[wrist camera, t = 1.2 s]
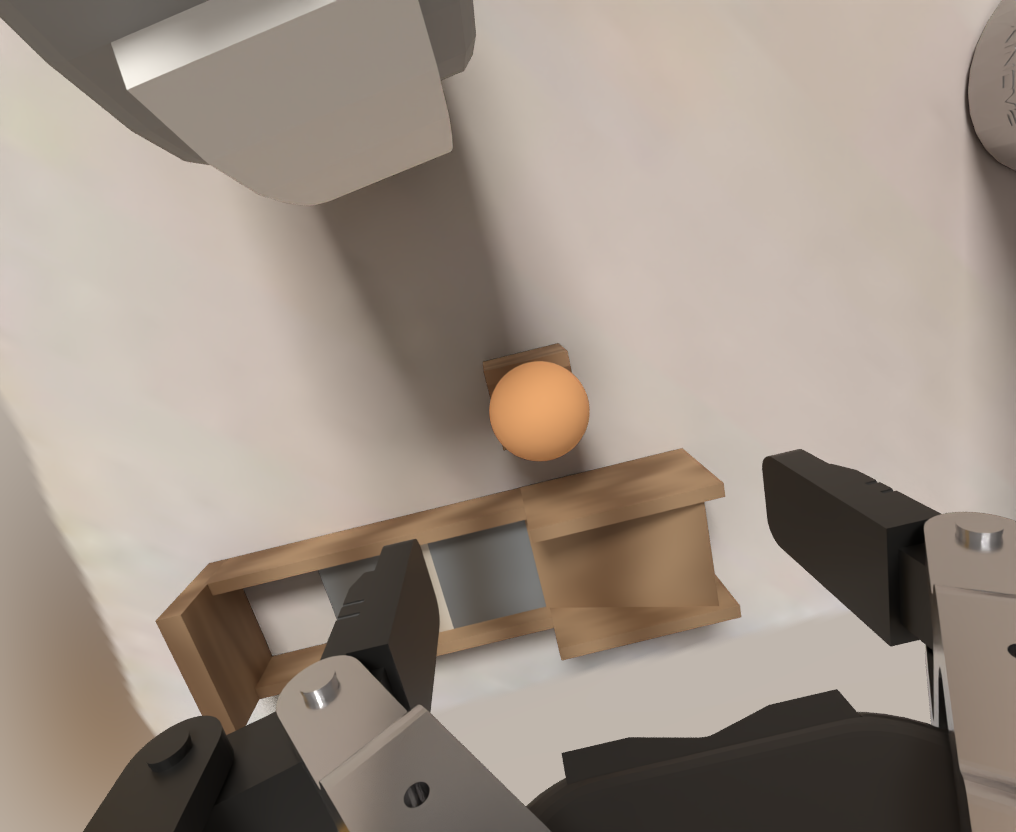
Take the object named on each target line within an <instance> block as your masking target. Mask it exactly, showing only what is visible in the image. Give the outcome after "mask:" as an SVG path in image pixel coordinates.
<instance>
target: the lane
mask: <svg viewBox="0 0 1016 832" xmlns="http://www.w3.org/2000/svg"><path fill="white" fill-rule="evenodd" d="M722 497H725V491H724V483H723V482H722V481H720V480H719V479H718V478H717V477H716V476H715V475H713V474H712V473H711V472H710V471H709V470H707V469H706V468H705V467H704V466H703V465H702V464H700V463H699V462H698V461H697V460H696V459H694V458H693V457H692V456H691V455H690V454H688V453H687V452H686V451H685V450H684V449H683V448H681V449H677V450H673V451H669V452H664V453H660V454H656V455H652V456H648V457H644V458H640V459H636V460H632V461H628V462H623V463H619V464H615V465H611V466H607V467H603V468H599V469H595V470H591V471H586V472H582V473H578V474H574V475H570V476H566V477H562V478H558V479H554V480H550V481H545V482H541V483H537V484H533V485H529V486H525V487H521V488H517V489H513V490H508V491H504V492H500V493H496V494H492V495H488V496H484V497H480V498H476V499H472V500H467V501H463V502H459V503H455V504H451V505H447V506H443V507H439V508H435V509H430V510H426V511H422V512H418V513H414V514H410V515H406V516H402V517H398V518H393V519H389V520H385V521H381V522H377V523H373V524H369V525H365V526H361V527H357V528H352V529H348V530H344V531H340V532H336V533H332V534H328V535H324V536H320V537H315V538H311V539H307V540H303V541H299V542H295V543H291V544H287V545H283V546H279V547H274V548H270V549H266V550H262V551H258V552H254V553H250V554H246V555H242V556H237V557H233V558H229V559H225V560H221V561H217V562H213V563H209V564H208V565H207V566H206V567H205V568H204V569H203V570H202V571H201V572H200V574H199V575H198V576H197V577H196V578H195V579H194V580H193V581H192V582H191V583H190V584H189V585H188V586H187V588H186V589H185V590H184V591H183V592H182V593H181V594H180V595H179V596H178V597H177V598H176V599H175V600H174V602H173V603H172V604H171V605H170V606H169V607H168V608H167V609H166V610H165V611H164V612H163V613H162V614H161V616H160V617H159V618H158V619H157V620H156V623H157V625H158V627H159V629H160V631H161V633H162V635H163V637H164V639H165V641H166V643H167V645H168V648H169V650H170V652H171V654H172V656H173V658H174V660H175V662H176V664H177V666H178V668H179V670H180V672H181V674H182V676H183V678H184V680H185V682H186V684H187V686H188V688H189V690H190V692H191V694H192V696H193V698H194V700H195V702H196V704H197V706H198V708H199V710H200V712H201V714H202V716H206V715H207V716H213V717H216V718H217V719H218V720H219V721H220V722H221V725H222V727H223V729H224V731H225V733H226V735H228V734H230V733H232V732H234V731H236V730H238V729H240V728H243V727H245V726H246V724H247V722H248V720H249V718H250V716H251V714H252V712H253V711H254V709H255V707H256V705H257V703H258V701H259V699H262V698H266V697H270V696H274V695H278V694H280V693H281V692H282V690H283V689H284V687H285V686H286V685H287V684H288V683H289V682H290V681H291V680H292V679H293V678H294V677H295V676H296V675H297V674H298V673H300V672H301V671H302V670H304V669H305V668H307V667H309V666H310V665H312V664H314V663H316V662H318V661H320V659H321V656H322V654H323V651H324V649H325V647H326V644H327V643H326V644H322V645H317V646H313V647H309V648H305V649H301V650H297V651H293V652H289V653H284V654H280V655H276V656H272V655H271V653H270V650H269V648H268V646H267V643H266V641H265V639H264V636H263V634H262V632H261V630H260V627H259V625H258V623H257V620H256V618H255V616H254V613H253V611H252V609H251V606H250V604H249V602H248V599H247V597H246V595H245V592H244V590H243V588H246V587H250V586H255V585H259V584H263V583H267V582H271V581H275V580H279V579H283V578H287V577H292V576H296V575H300V574H304V573H308V572H312V571H316V570H318V571H319V574H320V577H321V579H322V582H323V584H324V587H325V590H326V592H327V595H328V598H329V600H330V603H331V605H332V608H333V611H334V613H335V616H336V618H337V617H338V615H339V612H340V610H341V608H342V607H343V603H344V600H345V598H346V595H347V593H348V591H349V588H350V587H351V586H352V585H353V584H354V583H355V582H356V581H357V580H358V579H359V578H360V576H361V575H362V574H363V573H365V572H369V571H374V570H375V568H376V565H377V562H378V559H379V556H380V553H381V551H382V548H383V546H386V545H390V544H394V543H399V542H403V541H407V540H411V539H417V540H418V542H419V544H420V546H421V549H422V552H423V556H424V559H425V562H426V565H427V569H428V572H429V575H430V578H431V582H432V585H433V588H434V591H435V595H436V598H437V602H438V608H439V615H440V628H439V637H438V647H437V656H440V655H444V654H448V653H452V652H456V651H460V650H465V649H469V648H473V647H477V646H481V645H485V644H489V643H493V642H498V641H502V640H506V639H510V638H514V637H518V636H522V635H527V634H531V633H535V632H539V631H543V630H547V629H551V628H554V630H555V634H556V639H557V643H558V648H559V652H560V656H561V660H566V659H570V658H574V657H578V656H582V655H586V654H590V653H595V652H599V651H603V650H607V649H611V648H615V647H619V646H624V645H628V644H632V643H636V642H640V641H644V640H648V639H653V638H657V637H661V636H665V635H669V634H673V633H677V632H682V631H686V630H690V629H694V628H698V627H702V626H706V625H711V624H715V623H719V622H723V621H727V620H731V619H735V618H740V617H741V611H740V605H739V604H738V602H737V601H736V600H735V599H734V597H733V596H732V595H731V594H730V592H729V591H728V590H727V589H726V587H725V586H724V585H723V584H722V582H721V581H720V580H719V579H718V577H717V576H716V575H715V572H714V566H713V559H712V552H711V545H710V538H709V531H708V525H707V518H706V511H705V504H704V502H705V501H709V500H713V499H718V498H722ZM337 621H338V618H337Z"/></svg>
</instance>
